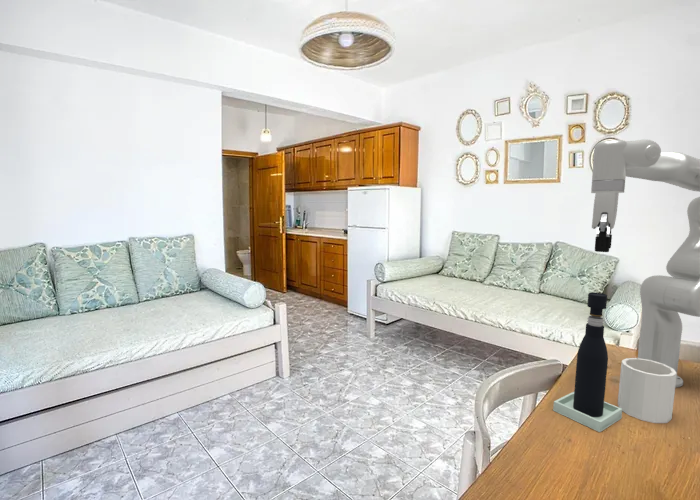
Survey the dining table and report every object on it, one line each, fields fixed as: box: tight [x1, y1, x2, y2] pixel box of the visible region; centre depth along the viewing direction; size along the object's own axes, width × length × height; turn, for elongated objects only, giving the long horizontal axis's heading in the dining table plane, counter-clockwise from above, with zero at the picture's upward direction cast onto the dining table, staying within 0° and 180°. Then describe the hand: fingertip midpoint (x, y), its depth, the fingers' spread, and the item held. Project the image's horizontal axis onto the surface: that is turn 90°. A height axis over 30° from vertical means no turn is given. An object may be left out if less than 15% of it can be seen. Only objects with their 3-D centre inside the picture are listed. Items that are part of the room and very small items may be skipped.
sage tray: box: [552, 391, 623, 433], centre depth 95 cm, size 11×11×2 cm
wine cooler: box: [617, 357, 678, 424], centre depth 96 cm, size 11×11×12 cm
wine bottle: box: [573, 291, 609, 417], centre depth 93 cm, size 6×6×30 cm
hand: (602, 249), depth 105 cm, fingers open, 9 cm apart
